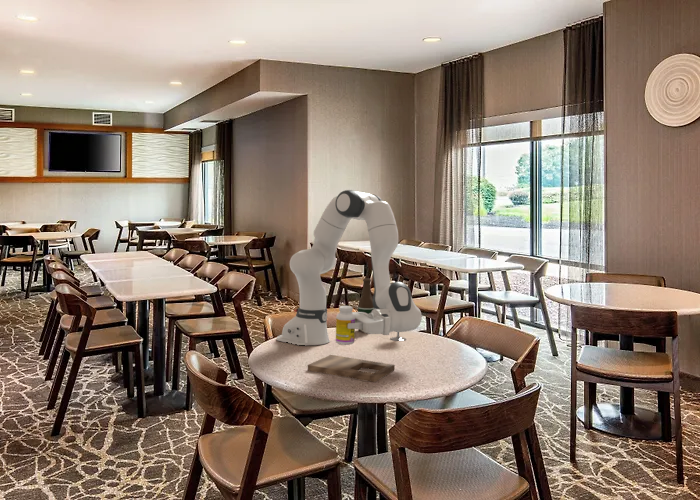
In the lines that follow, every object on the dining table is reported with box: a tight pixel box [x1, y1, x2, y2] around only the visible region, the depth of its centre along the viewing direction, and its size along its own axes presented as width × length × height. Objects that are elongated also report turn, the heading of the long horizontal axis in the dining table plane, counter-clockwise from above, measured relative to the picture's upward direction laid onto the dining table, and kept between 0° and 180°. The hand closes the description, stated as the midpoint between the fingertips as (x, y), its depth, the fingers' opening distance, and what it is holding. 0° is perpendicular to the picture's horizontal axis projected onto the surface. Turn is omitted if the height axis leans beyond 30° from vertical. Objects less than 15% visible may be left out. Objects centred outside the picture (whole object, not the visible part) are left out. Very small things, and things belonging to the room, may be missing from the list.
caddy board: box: [307, 354, 396, 383], centre depth 213 cm, size 26×16×2 cm, turn 62°
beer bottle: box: [357, 277, 375, 334], centre depth 275 cm, size 8×8×24 cm
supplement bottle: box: [335, 305, 356, 346], centre depth 213 cm, size 7×7×13 cm
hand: (343, 323), depth 212 cm, fingers closed on supplement bottle, 7 cm apart
